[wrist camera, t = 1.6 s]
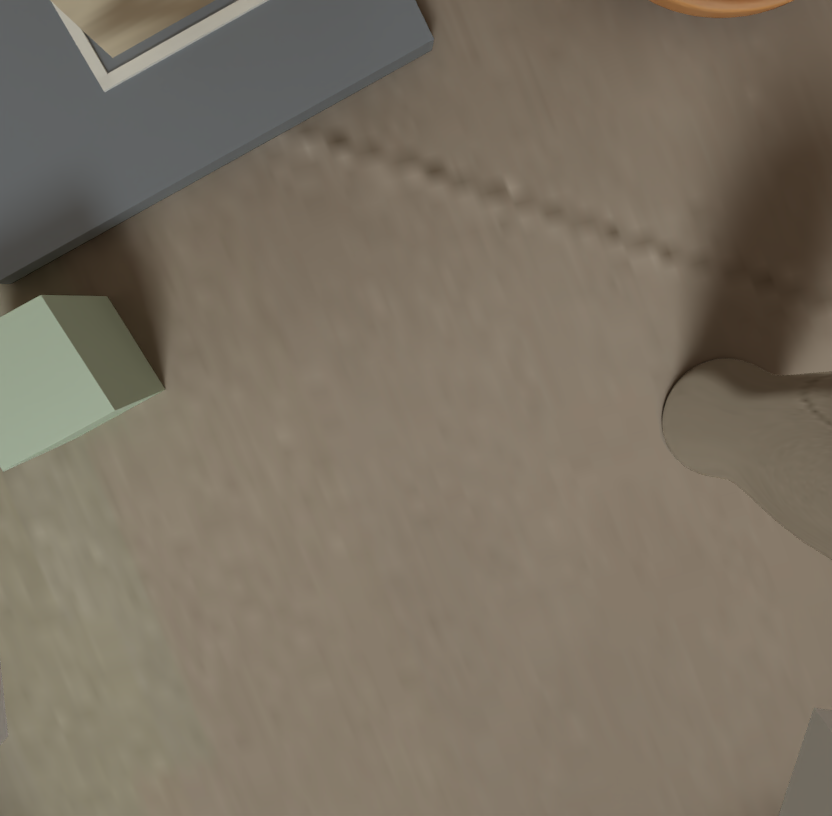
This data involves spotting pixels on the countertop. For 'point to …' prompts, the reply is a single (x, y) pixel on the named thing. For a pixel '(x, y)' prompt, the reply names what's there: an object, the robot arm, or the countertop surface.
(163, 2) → the maple block
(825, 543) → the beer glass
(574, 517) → the countertop surface
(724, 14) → the saucer
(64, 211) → the board
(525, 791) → the countertop surface
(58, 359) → the sage block
